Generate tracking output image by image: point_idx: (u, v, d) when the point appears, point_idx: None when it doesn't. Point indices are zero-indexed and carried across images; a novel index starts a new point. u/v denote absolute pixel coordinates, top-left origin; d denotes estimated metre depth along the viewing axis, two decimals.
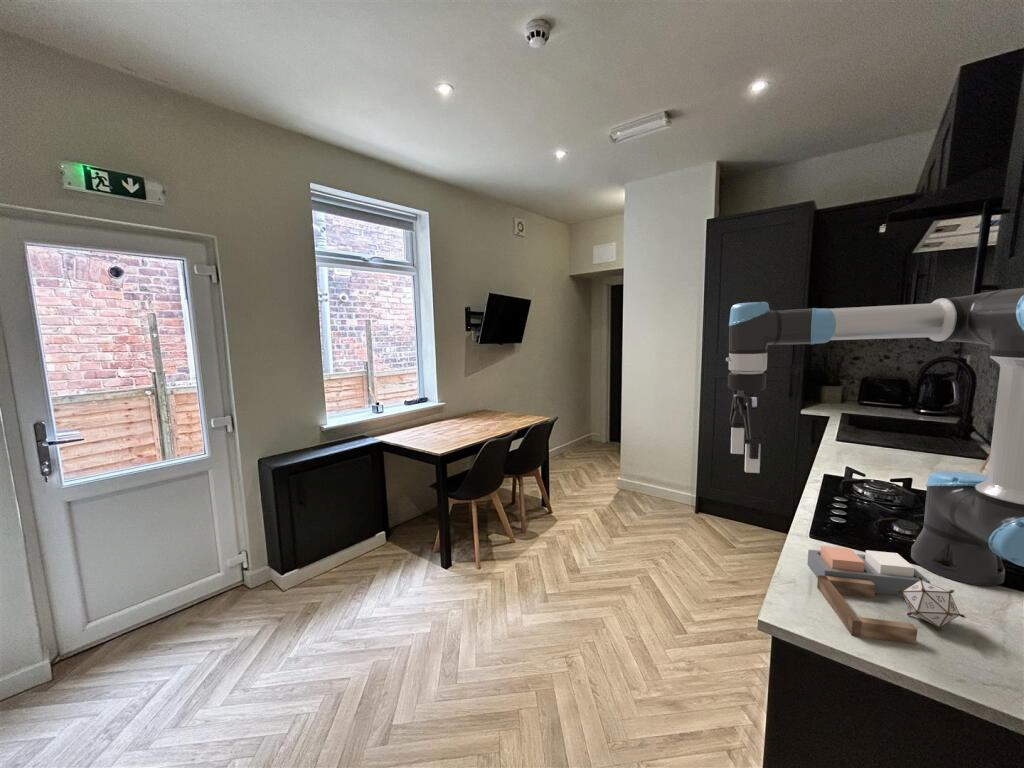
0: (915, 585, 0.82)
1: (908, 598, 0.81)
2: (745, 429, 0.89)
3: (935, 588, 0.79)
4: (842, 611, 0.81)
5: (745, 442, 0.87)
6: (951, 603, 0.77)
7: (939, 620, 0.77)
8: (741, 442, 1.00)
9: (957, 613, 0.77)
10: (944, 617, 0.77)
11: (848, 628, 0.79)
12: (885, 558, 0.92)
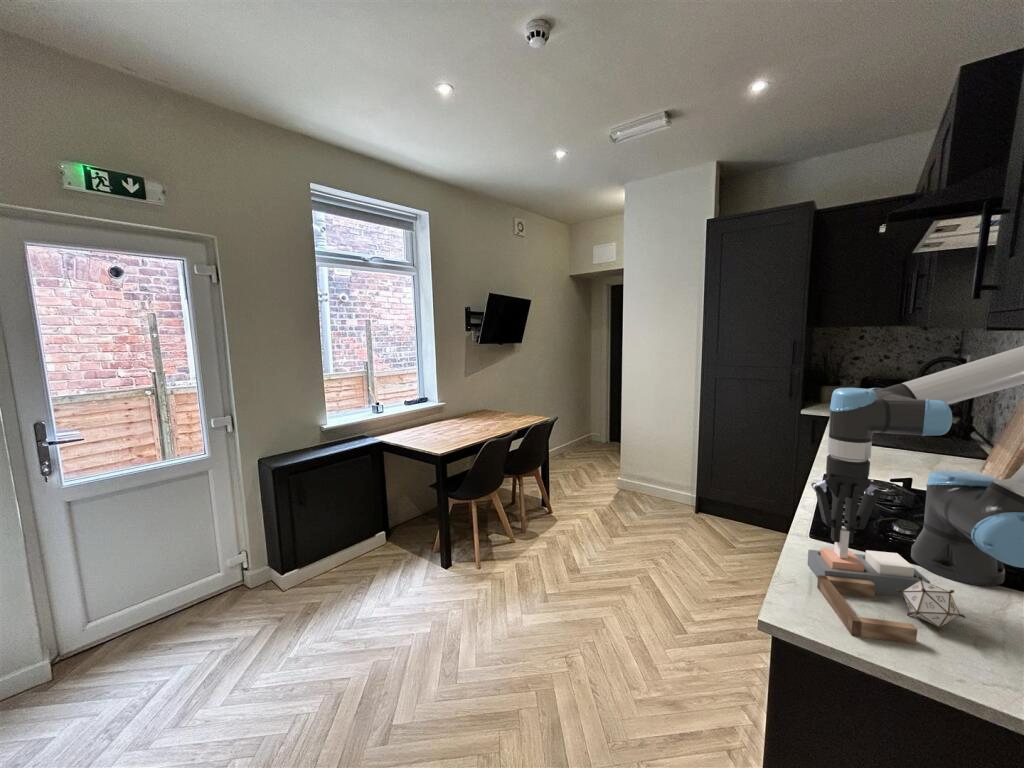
0: (915, 585, 0.82)
1: (908, 598, 0.81)
2: None
3: (935, 588, 0.79)
4: (842, 611, 0.81)
5: None
6: (951, 603, 0.77)
7: (939, 620, 0.77)
8: None
9: (957, 613, 0.77)
10: (944, 617, 0.77)
11: (848, 628, 0.79)
12: (885, 558, 0.92)
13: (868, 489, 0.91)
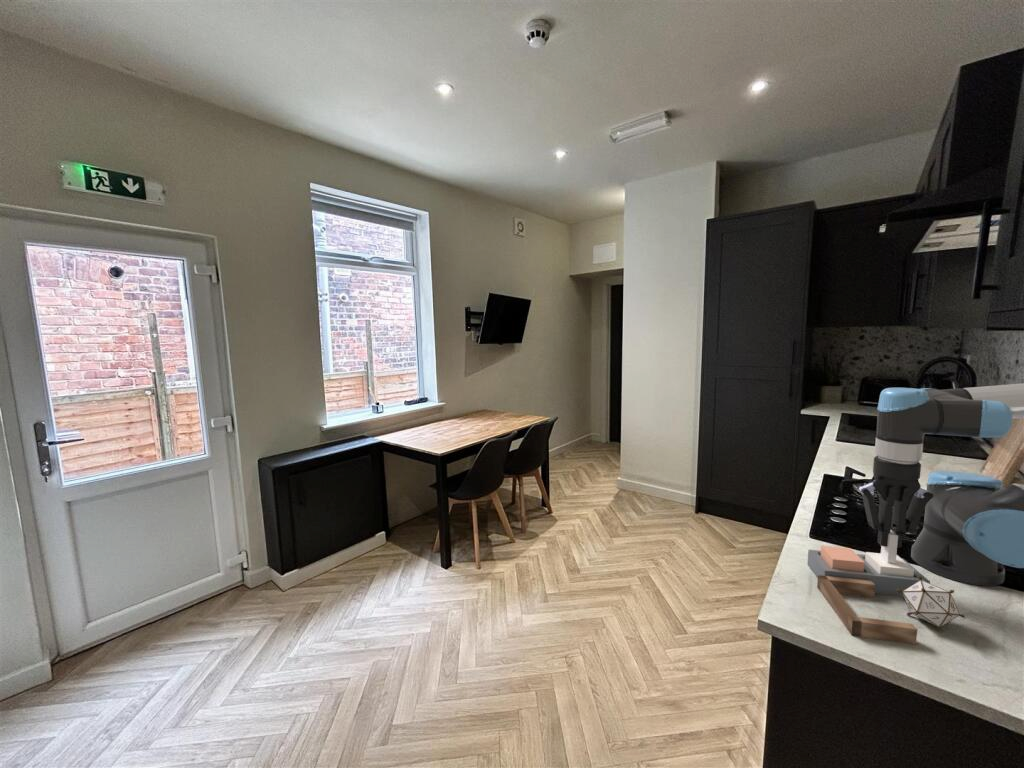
0: (915, 585, 0.82)
1: (908, 598, 0.81)
2: None
3: (935, 588, 0.79)
4: (842, 611, 0.81)
5: None
6: (951, 603, 0.77)
7: (939, 620, 0.77)
8: None
9: (957, 613, 0.77)
10: (944, 617, 0.77)
11: (848, 628, 0.79)
12: (885, 560, 0.92)
13: (918, 492, 0.88)
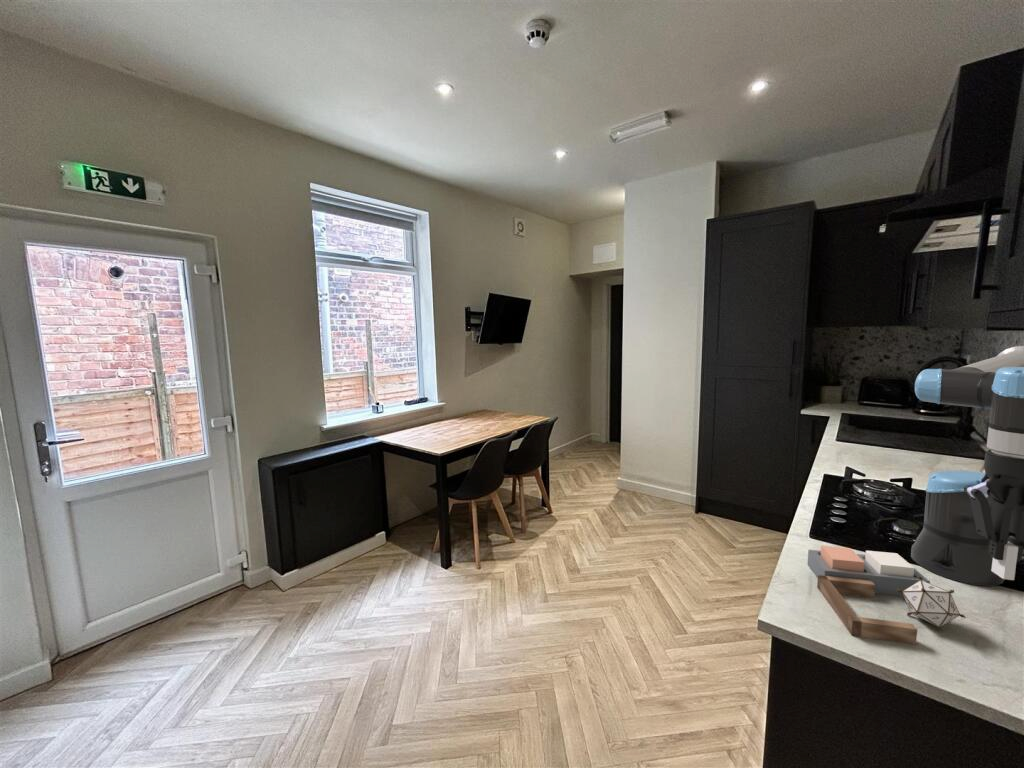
0: (915, 585, 0.82)
1: (908, 598, 0.81)
2: None
3: (935, 588, 0.79)
4: (842, 611, 0.81)
5: None
6: (951, 603, 0.77)
7: (939, 620, 0.77)
8: None
9: (957, 613, 0.77)
10: (944, 617, 0.77)
11: (848, 628, 0.79)
12: (885, 558, 0.92)
13: None
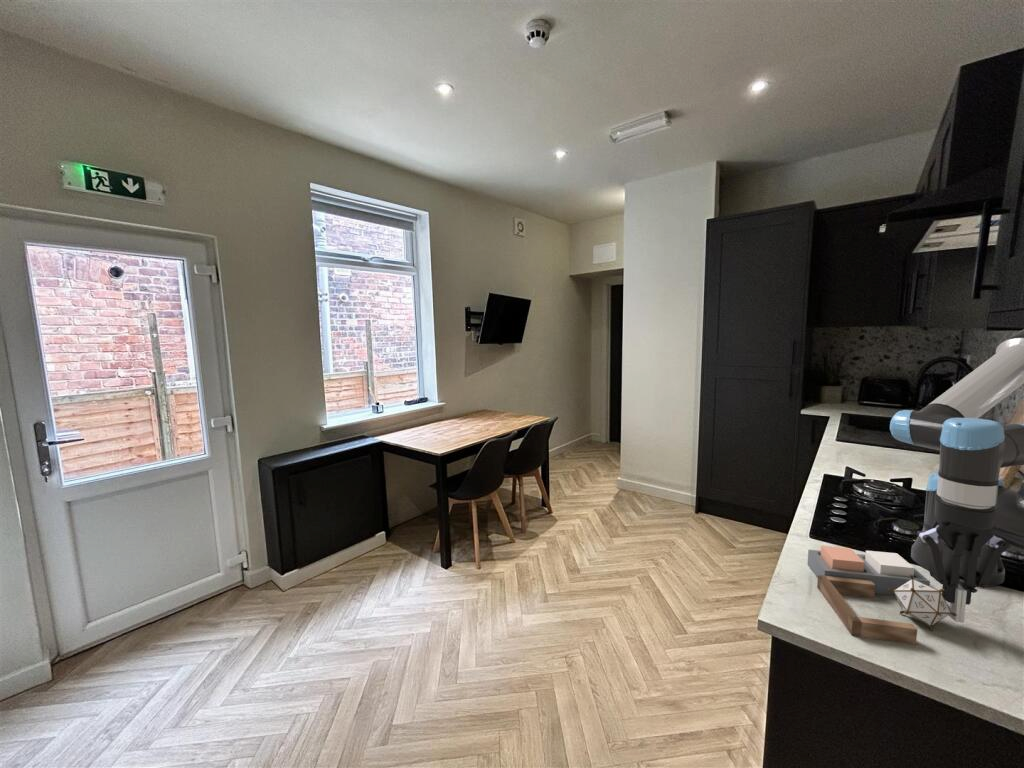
0: (906, 584, 0.82)
1: (899, 597, 0.81)
2: None
3: (925, 587, 0.79)
4: (842, 611, 0.81)
5: None
6: (941, 602, 0.77)
7: (929, 619, 0.78)
8: None
9: (948, 612, 0.77)
10: (934, 616, 0.77)
11: (848, 628, 0.79)
12: (885, 558, 0.92)
13: (990, 540, 0.76)
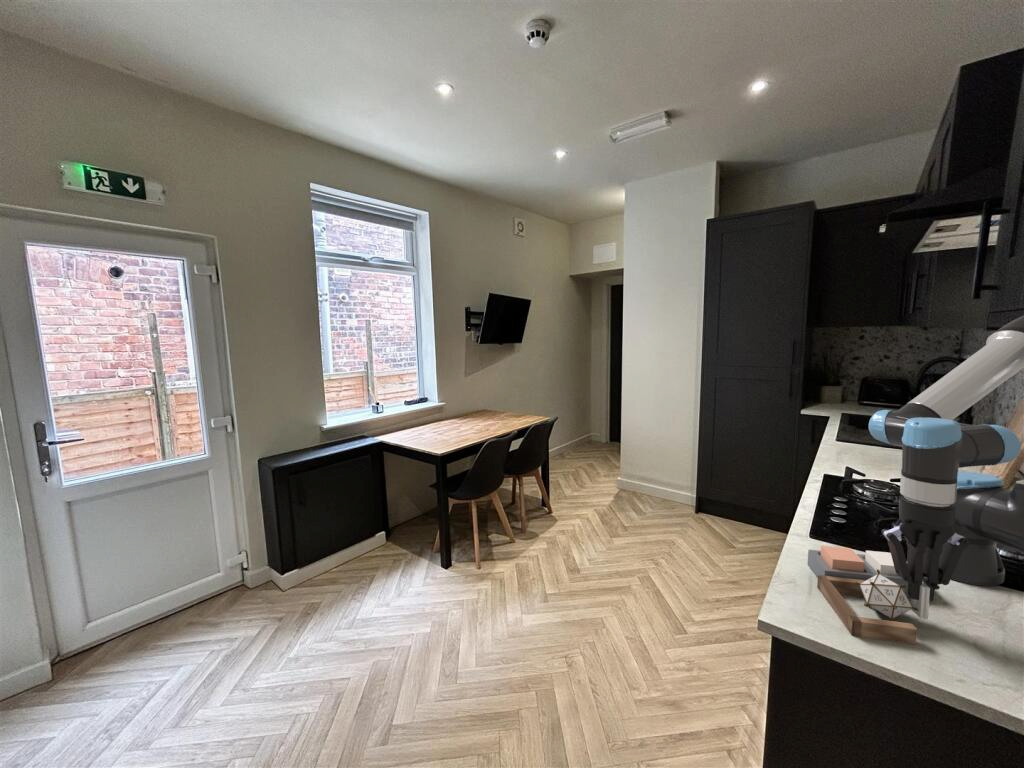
0: (872, 578, 0.84)
1: (862, 590, 0.84)
2: None
3: (887, 582, 0.81)
4: (842, 611, 0.81)
5: None
6: (901, 596, 0.79)
7: (889, 612, 0.80)
8: None
9: (909, 606, 0.79)
10: (891, 610, 0.79)
11: (848, 628, 0.79)
12: (885, 558, 0.92)
13: (952, 537, 0.77)
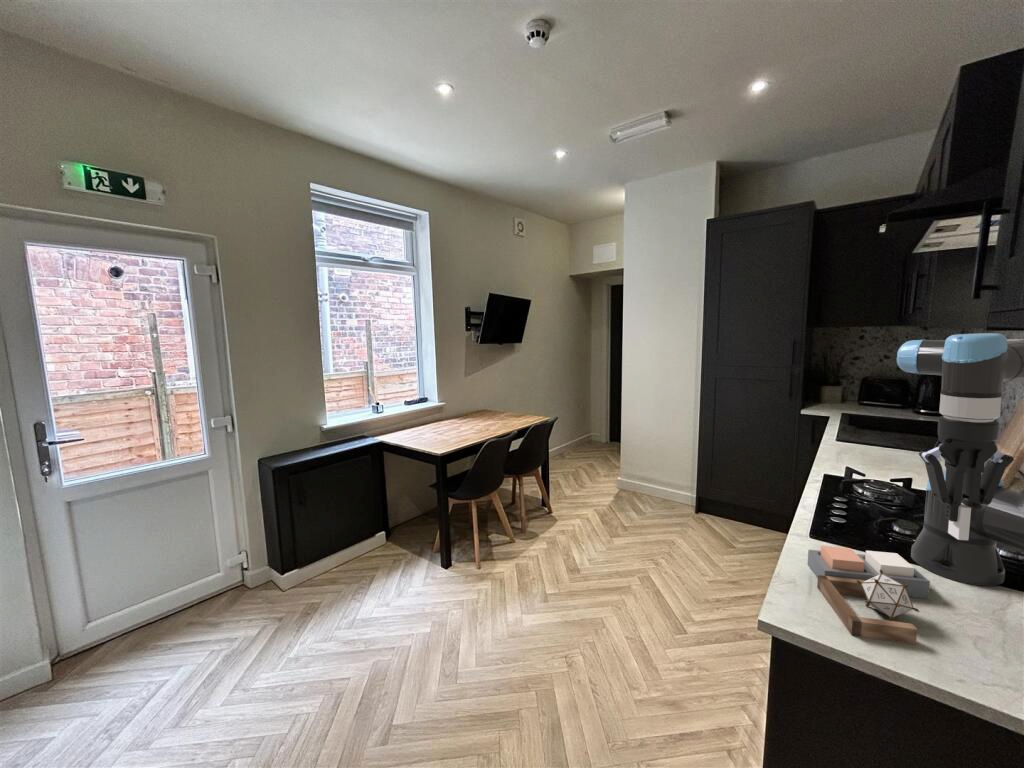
0: (874, 577, 0.85)
1: (864, 589, 0.84)
2: None
3: (891, 581, 0.82)
4: (842, 611, 0.81)
5: None
6: (903, 596, 0.80)
7: (890, 611, 0.80)
8: None
9: (910, 606, 0.80)
10: (893, 608, 0.80)
11: (848, 628, 0.79)
12: (885, 558, 0.92)
13: (994, 455, 0.75)
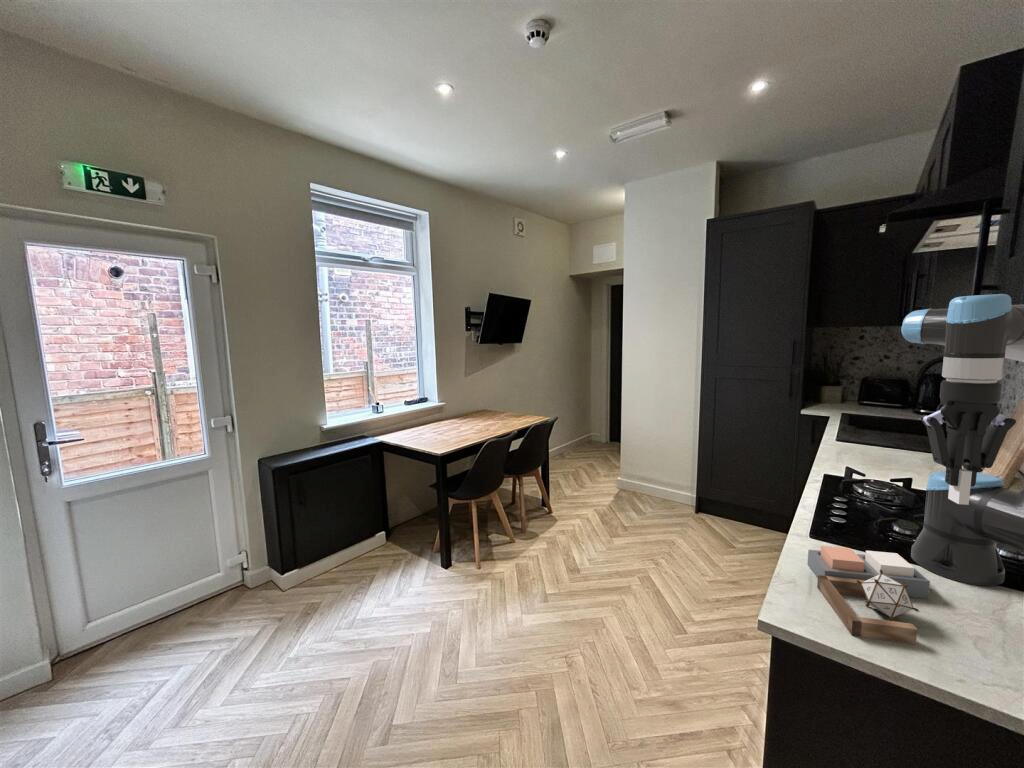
0: (874, 577, 0.85)
1: (864, 589, 0.84)
2: None
3: (891, 581, 0.82)
4: (842, 611, 0.81)
5: None
6: (903, 596, 0.80)
7: (890, 611, 0.80)
8: None
9: (910, 606, 0.80)
10: (893, 608, 0.80)
11: (848, 628, 0.79)
12: (885, 558, 0.92)
13: (996, 418, 0.75)
